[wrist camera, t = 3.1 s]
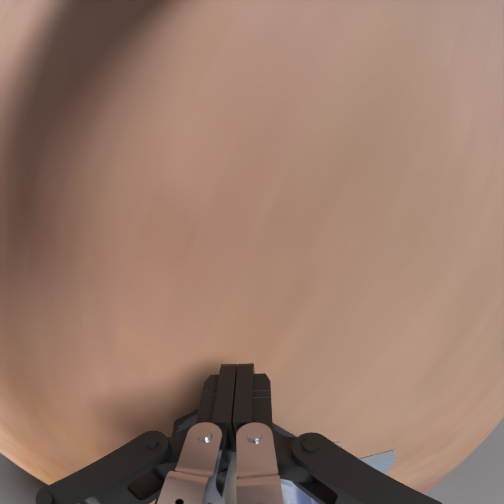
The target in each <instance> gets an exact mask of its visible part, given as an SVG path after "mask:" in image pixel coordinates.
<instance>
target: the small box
mask: <svg viewBox="0 0 504 504" xmlns="http://www.w3.org/2000/svg"><path fill="white" fill-rule="evenodd" d="M198 411H199V409H198V410H196V411H194V412H192V413H190V414H188V415H186V416H184V417H182V418H181V419H179V420H177V421H175V422H174V426H173V432H172V436H171V437H174V436H180V435H183V434H186V433H188V431H189V429H190V428H191V427H192V426H194V425H195V424H196V421H197V416H198ZM272 424H273V427H274V428H275V430H276V431H277V432H279V433H280V434H282V435H285V436H290V437H295V438H297V437H296V436H294V435H292V434H291V433H289V432H287V431H286V430H284V429H282V428H280V427H279V426H277V425H275V424H274V423H272ZM236 478H237V452H231V469H230V474H229V480H228V485H227V490H226V496H225V504H237V499H236ZM280 482H281V489H282V495H283V502H284V504H319V503H318V502H316V501H315V500H314V499H312V498H311V497H310V496H308V495H307V494H306V493H304V492H303V491H302V490H301V489H299V488H298V487H297V486H296V485H294V484H293V483H292V481H289V480H284V479H280ZM158 499H159V497H158V498H157V499H156V501H155V504H157V502H158Z"/></svg>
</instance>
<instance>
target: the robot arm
mask: <svg viewBox="0 0 504 504" xmlns="http://www.w3.org/2000/svg"><path fill="white" fill-rule="evenodd" d="M231 452H237V478H236V499H237V504H284V502H283V495H282V489H281V482H280V479H284V480H289V481H292V483H293V484H294V485H296V486H297V487H298V488H299V489H301V490H302V491H303V492H304V493H306V494H307V495H308V496H310V497H311V498H312V499H314V500H315V501H316V502H318V503H319V504H442V503H441V502H439V501H437V500H435V499H432V498H430V497H428V496H426V495H424V494H422V493H420V492H418V491H416V490H414V489H412V488H410V487H408V486H406V485H404V484H402V483H400V482H398V481H396V480H394V479H393V478H391V477H389V476H387V475H385V474H384V473H382V472H380V471H378V470H377V469H375V468H373V467H371V466H370V465H368V464H366V463H365V462H363V461H361V460H360V459H358V458H357V457H355V456H353V455H352V454H350V453H349V452H347V451H345V450H344V449H342V448H341V447H339V446H338V445H336V444H335V443H333V442H332V441H330V440H329V439H327V438H326V437H324V436H323V435H321V434H318V433H305V434H302V435H300V436H299V437H297V438H295V437H290V436H285V435H282V434H280V433H279V432H277V431H276V430H275V428H274V427H273V424H272V408H271V388H270V380H269V378H268V377H267V375H266V374H255V371H254V363H251V364H238V365H237V364H222V365H221V369H220V375H210V376H209V378H208V379H207V380H206V381H205V384H204V388H203V393H202V399H201V402H200V407H199V411H198V416H197V421H196V424H195V425H194V426H192V427H191V428H190V429H189V431H188V433H186V434H183V435H180V436H174V437H168V438H167V437H166V436H165V435H164V434H163V433H161V432H158V431H149V432H145V433H143V434H141V435H140V436H138V437H137V438H135V439H133V440H132V441H130V442H129V443H127V444H125V445H124V446H122V447H120V448H119V449H117V450H115V451H113V452H112V453H110V454H108V455H107V456H105V457H103V458H101V459H99V460H98V461H96V462H94V463H92V464H90V465H89V466H87V467H85V468H83V469H81V470H79V471H77V472H75V473H73V474H71V475H69V476H67V477H65V478H63V479H61V480H59V481H57V482H55V483H53V484H51V485H49V486H46V487H44V488H42V489H41V490H39V491H38V493H37V495H36V504H149V503H151V502H152V501H154V500H155V499H157V498H158V497H159V499H158V502H157V504H225V496H226V490H227V485H228V480H229V474H230V469H231Z"/></svg>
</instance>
